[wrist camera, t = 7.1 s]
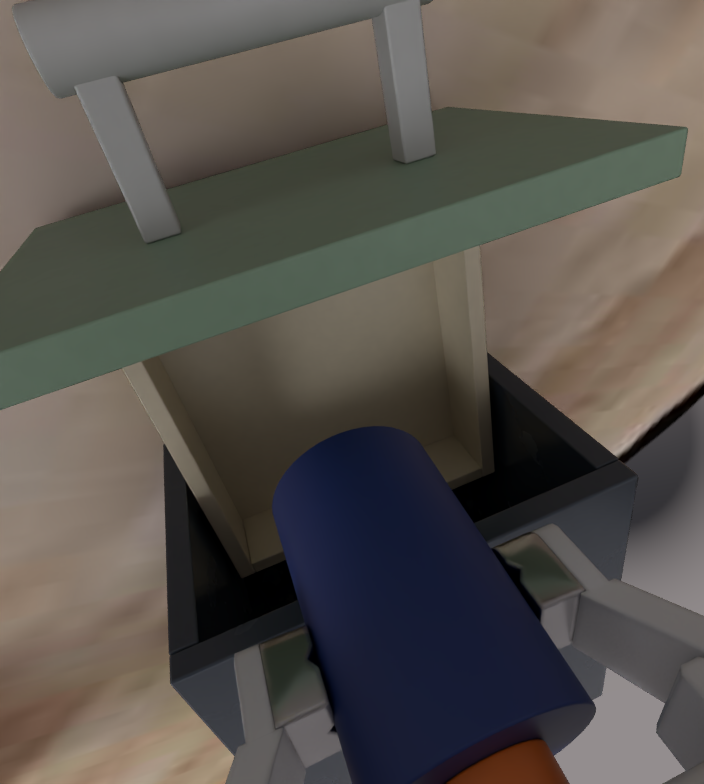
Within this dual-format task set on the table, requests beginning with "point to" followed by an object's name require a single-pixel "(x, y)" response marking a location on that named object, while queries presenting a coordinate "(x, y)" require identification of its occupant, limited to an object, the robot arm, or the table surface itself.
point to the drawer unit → (479, 499)
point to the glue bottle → (419, 623)
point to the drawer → (290, 254)
